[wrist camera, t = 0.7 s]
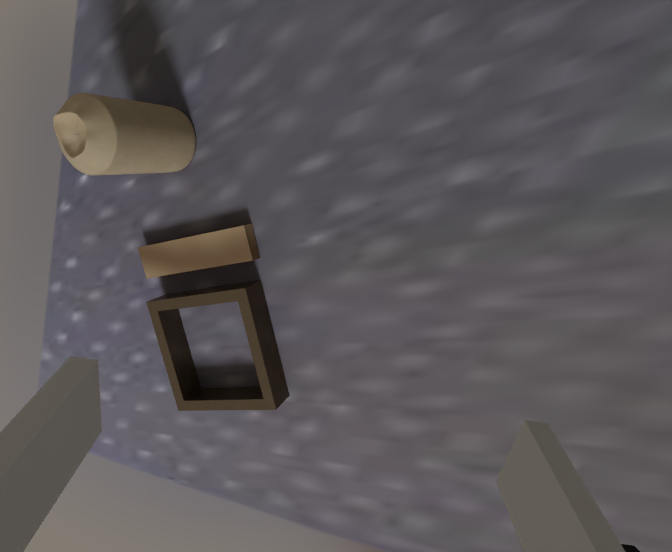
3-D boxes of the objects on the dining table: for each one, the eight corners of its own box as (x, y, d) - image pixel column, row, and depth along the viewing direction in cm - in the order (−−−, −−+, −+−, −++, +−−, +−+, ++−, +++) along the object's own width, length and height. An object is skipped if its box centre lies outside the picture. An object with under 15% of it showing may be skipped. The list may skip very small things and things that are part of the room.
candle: (136, 137, 40) (26, 130, 31) (169, 92, 38) (61, 70, 29) (172, 185, 40) (72, 192, 31) (208, 143, 37) (112, 137, 28)
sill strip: (147, 245, 43) (137, 247, 41) (251, 223, 38) (243, 225, 37) (155, 275, 43) (146, 278, 42) (260, 257, 38) (252, 260, 37)
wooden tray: (165, 294, 43) (146, 302, 41) (260, 280, 39) (245, 288, 37) (195, 397, 45) (178, 410, 43) (289, 395, 41) (276, 409, 38)
